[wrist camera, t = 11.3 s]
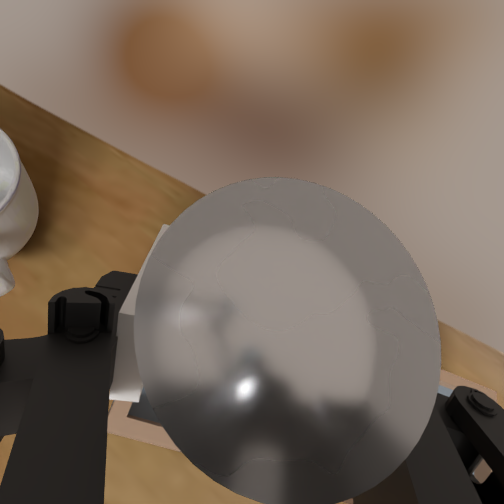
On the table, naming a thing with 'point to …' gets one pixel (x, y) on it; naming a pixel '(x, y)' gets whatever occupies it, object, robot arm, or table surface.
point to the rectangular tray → (151, 431)
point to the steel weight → (287, 342)
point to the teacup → (14, 209)
